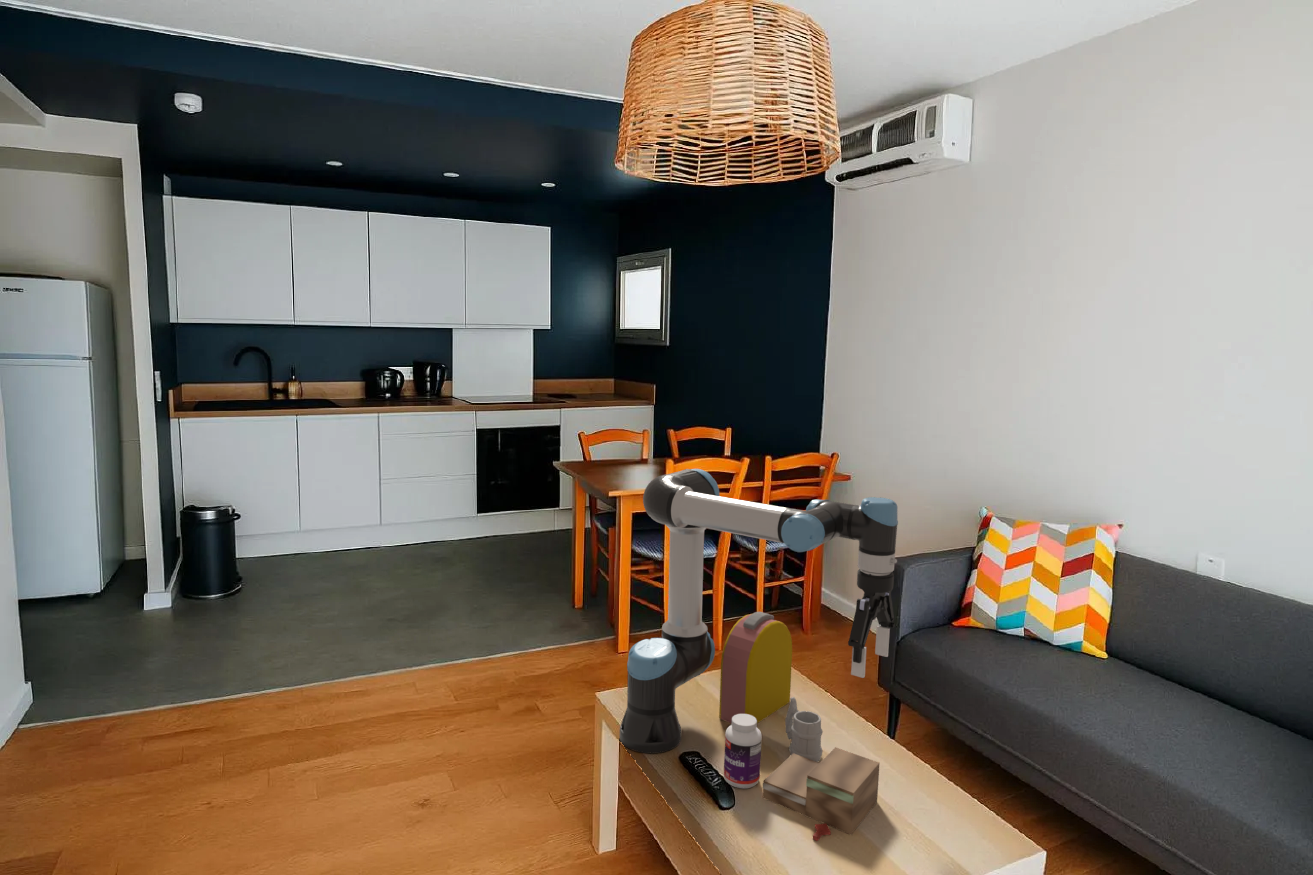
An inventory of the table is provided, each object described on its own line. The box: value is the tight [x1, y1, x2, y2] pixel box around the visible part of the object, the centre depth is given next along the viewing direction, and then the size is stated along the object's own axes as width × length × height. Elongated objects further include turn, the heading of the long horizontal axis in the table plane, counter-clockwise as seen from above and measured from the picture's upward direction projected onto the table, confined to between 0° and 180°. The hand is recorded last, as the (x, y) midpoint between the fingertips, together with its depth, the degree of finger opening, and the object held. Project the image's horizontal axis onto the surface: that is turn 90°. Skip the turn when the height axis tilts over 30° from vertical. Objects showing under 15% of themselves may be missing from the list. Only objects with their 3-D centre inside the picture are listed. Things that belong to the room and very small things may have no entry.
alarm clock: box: [718, 611, 793, 725], centre depth 206 cm, size 21×9×26 cm, turn 139°
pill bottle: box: [723, 714, 763, 789], centre depth 174 cm, size 8×8×14 cm
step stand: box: [762, 746, 880, 842], centre depth 165 cm, size 20×20×9 cm
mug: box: [784, 696, 824, 763], centre depth 186 cm, size 8×12×12 cm, turn 26°
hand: (870, 665), depth 170 cm, fingers open, 13 cm apart
